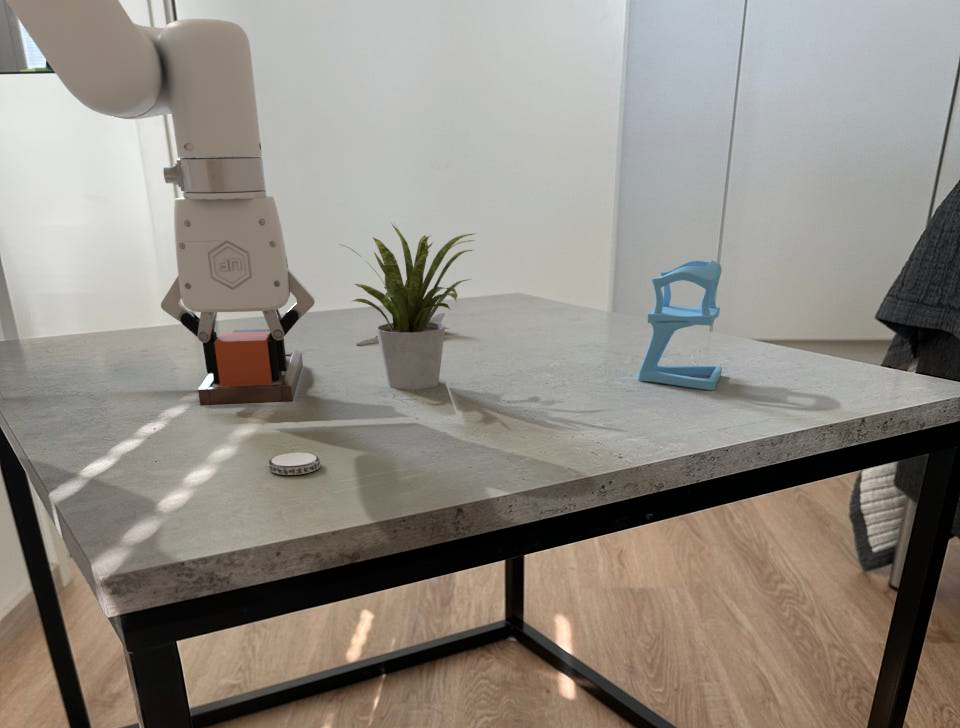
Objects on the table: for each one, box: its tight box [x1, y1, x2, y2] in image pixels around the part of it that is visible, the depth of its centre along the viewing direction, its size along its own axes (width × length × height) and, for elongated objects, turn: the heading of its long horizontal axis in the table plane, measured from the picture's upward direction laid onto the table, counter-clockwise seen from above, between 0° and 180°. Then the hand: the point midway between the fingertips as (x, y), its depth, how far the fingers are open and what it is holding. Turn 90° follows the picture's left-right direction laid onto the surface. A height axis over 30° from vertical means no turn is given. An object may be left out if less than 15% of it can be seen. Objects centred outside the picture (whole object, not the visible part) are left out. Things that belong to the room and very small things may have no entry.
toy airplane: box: [355, 312, 457, 347], centre depth 123 cm, size 8×21×2 cm, turn 140°
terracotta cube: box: [214, 332, 274, 387], centre depth 93 cm, size 5×5×4 cm
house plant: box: [339, 222, 478, 391], centre depth 93 cm, size 14×14×16 cm
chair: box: [637, 260, 723, 391], centre depth 96 cm, size 8×8×12 cm
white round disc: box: [268, 452, 321, 476], centre depth 73 cm, size 4×4×1 cm
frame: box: [197, 351, 304, 407], centre depth 98 cm, size 9×17×2 cm, turn 6°
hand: (248, 377), depth 94 cm, fingers closed on terracotta cube, 5 cm apart
